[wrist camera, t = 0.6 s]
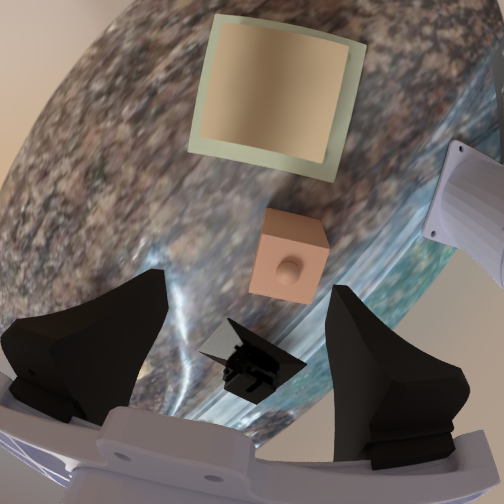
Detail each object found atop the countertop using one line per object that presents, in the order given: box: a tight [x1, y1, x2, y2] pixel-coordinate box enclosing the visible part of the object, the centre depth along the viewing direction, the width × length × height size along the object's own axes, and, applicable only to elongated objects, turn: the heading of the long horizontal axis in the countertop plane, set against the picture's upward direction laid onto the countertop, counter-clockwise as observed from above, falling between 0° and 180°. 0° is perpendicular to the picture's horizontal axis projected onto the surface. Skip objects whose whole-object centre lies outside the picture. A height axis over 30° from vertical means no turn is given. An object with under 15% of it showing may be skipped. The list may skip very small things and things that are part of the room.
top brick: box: [249, 207, 330, 305], centre depth 20 cm, size 4×4×5 cm
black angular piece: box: [198, 318, 307, 405], centre depth 27 cm, size 12×7×5 cm, turn 55°
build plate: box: [188, 14, 367, 183], centre depth 18 cm, size 10×10×1 cm
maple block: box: [199, 23, 349, 164], centre depth 16 cm, size 7×7×3 cm
